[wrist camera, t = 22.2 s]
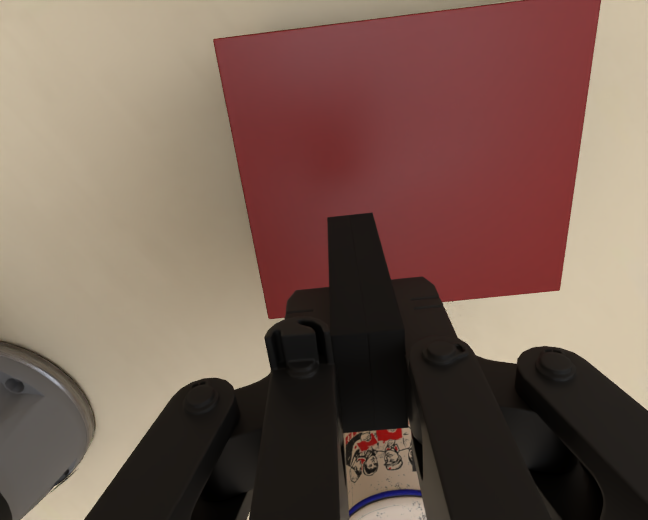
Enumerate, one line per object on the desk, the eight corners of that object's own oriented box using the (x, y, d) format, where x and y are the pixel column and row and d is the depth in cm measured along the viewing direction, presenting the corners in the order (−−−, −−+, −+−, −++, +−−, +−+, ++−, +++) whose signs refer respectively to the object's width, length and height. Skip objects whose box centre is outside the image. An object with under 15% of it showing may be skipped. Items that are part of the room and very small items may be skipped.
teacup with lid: (429, 388, 37) (468, 527, 27) (450, 462, 41) (490, 608, 31) (291, 419, 39) (278, 561, 29) (324, 487, 43) (321, 633, 33)
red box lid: (269, 311, 25) (268, 319, 25) (216, 38, 19) (212, 39, 19) (553, 283, 25) (560, 290, 24) (592, -8, 19) (602, -10, 18)
